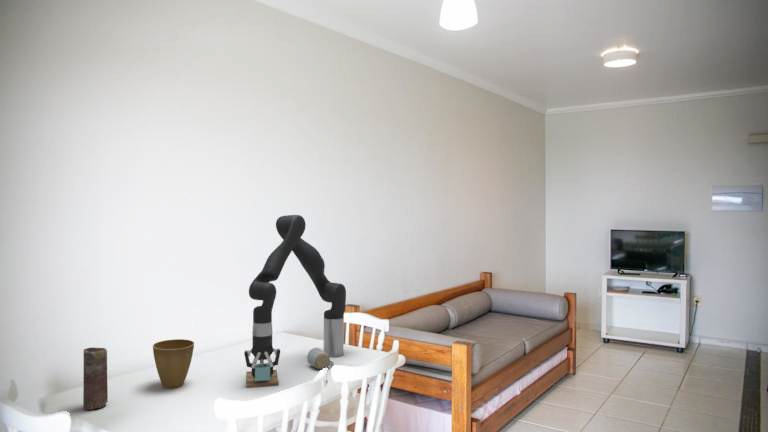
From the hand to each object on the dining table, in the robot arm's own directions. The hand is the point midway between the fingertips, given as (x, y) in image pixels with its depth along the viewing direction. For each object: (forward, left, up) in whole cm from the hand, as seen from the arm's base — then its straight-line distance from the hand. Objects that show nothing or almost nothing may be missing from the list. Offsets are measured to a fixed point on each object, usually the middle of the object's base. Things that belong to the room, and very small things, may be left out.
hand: (262, 376), depth 210 cm
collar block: (0, 0, -1) cm, 1 cm away
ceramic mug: (-16, +25, -3) cm, 30 cm away
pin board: (-4, 0, -3) cm, 5 cm away
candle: (+12, -56, -3) cm, 57 cm away
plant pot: (-5, -33, -3) cm, 34 cm away
